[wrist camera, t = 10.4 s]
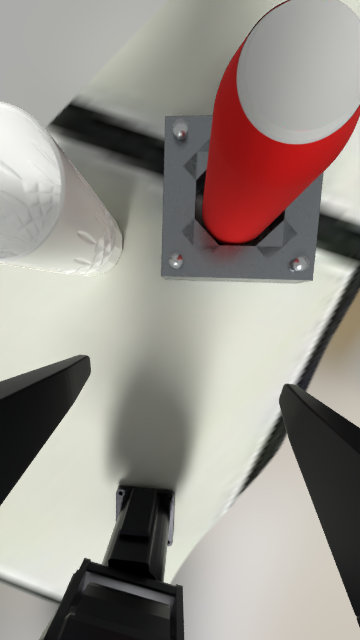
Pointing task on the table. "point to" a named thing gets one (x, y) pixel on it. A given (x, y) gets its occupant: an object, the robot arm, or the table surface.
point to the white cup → (49, 205)
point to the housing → (200, 248)
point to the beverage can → (280, 115)
